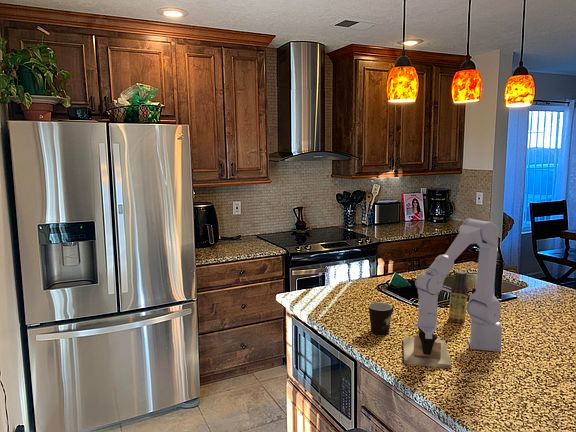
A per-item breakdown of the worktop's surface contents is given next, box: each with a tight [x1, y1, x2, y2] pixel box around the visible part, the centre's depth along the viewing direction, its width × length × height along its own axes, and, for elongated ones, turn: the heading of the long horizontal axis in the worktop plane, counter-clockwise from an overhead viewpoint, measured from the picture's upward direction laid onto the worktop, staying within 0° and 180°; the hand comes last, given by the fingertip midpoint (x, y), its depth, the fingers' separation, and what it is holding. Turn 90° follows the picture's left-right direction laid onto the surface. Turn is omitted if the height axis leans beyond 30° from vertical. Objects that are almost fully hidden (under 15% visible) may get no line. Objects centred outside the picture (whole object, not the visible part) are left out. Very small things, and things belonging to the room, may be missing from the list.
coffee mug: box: [368, 301, 395, 337], centre depth 159 cm, size 12×9×10 cm
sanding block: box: [413, 334, 442, 359], centre depth 137 cm, size 8×4×6 cm, turn 76°
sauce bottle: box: [448, 270, 468, 324], centre depth 168 cm, size 6×6×20 cm
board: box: [402, 336, 452, 369], centre depth 142 cm, size 14×18×1 cm
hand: (426, 351), depth 138 cm, fingers closed on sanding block, 4 cm apart
